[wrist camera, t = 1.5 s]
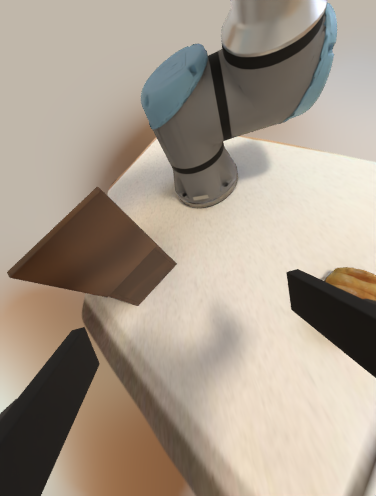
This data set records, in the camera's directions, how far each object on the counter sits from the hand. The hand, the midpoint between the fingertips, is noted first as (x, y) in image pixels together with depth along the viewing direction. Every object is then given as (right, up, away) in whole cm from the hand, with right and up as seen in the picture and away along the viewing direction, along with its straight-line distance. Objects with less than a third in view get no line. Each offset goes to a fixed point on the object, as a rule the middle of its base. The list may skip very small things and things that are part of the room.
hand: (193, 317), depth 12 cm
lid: (-12, +4, +13) cm, 18 cm away
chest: (-11, 0, +30) cm, 32 cm away
